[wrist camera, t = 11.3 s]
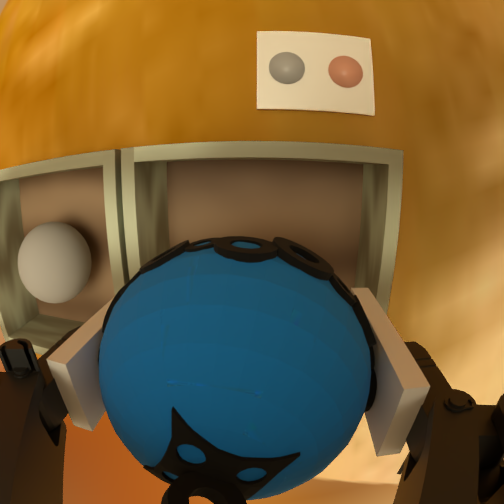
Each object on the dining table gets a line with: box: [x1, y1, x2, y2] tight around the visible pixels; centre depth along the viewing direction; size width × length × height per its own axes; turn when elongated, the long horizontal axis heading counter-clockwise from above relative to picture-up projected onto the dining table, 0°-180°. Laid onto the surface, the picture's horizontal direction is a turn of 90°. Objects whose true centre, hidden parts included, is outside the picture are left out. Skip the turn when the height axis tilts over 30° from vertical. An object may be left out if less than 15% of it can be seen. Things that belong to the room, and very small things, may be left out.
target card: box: [257, 31, 375, 116], centre depth 18 cm, size 6×8×1 cm
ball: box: [18, 222, 91, 303], centre depth 19 cm, size 6×6×6 cm
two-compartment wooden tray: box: [0, 141, 403, 355], centre depth 20 cm, size 15×30×6 cm, turn 90°
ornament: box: [98, 236, 377, 504], centre depth 9 cm, size 9×9×10 cm
